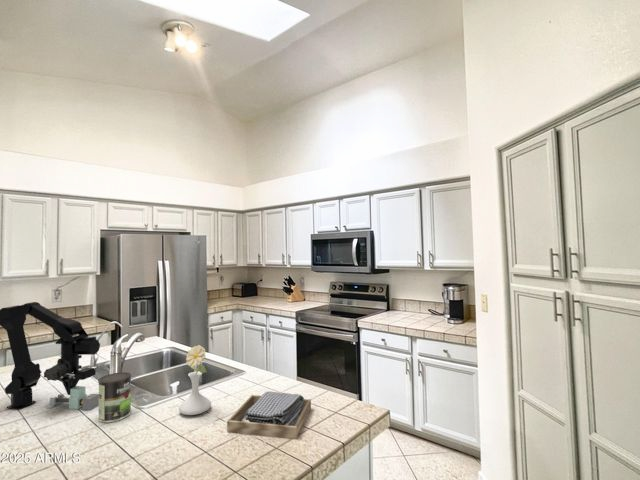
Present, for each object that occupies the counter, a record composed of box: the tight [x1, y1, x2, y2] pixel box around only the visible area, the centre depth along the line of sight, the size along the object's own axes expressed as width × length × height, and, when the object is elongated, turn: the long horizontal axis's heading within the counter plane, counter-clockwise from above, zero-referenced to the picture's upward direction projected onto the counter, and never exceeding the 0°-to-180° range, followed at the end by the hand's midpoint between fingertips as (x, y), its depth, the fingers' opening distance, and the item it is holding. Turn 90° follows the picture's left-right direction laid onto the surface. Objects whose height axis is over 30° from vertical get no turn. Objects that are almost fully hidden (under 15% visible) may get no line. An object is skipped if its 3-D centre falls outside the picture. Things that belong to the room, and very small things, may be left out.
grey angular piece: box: [45, 393, 99, 411], centre depth 132 cm, size 18×7×4 cm, turn 78°
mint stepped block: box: [68, 385, 88, 410], centre depth 132 cm, size 4×4×7 cm
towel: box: [245, 390, 305, 426], centre depth 119 cm, size 15×18×8 cm
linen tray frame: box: [226, 394, 312, 440], centre depth 119 cm, size 24×21×4 cm
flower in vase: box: [178, 344, 212, 416], centre depth 127 cm, size 13×11×25 cm
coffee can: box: [97, 371, 132, 424], centre depth 124 cm, size 10×10×14 cm
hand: (69, 394), depth 133 cm, fingers closed
